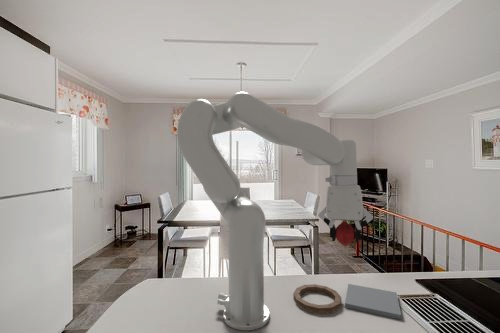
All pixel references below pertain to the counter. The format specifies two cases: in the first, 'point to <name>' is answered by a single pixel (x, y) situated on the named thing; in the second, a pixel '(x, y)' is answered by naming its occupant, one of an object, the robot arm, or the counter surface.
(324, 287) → the ring holder
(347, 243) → the onion
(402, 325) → the counter surface
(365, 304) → the board
